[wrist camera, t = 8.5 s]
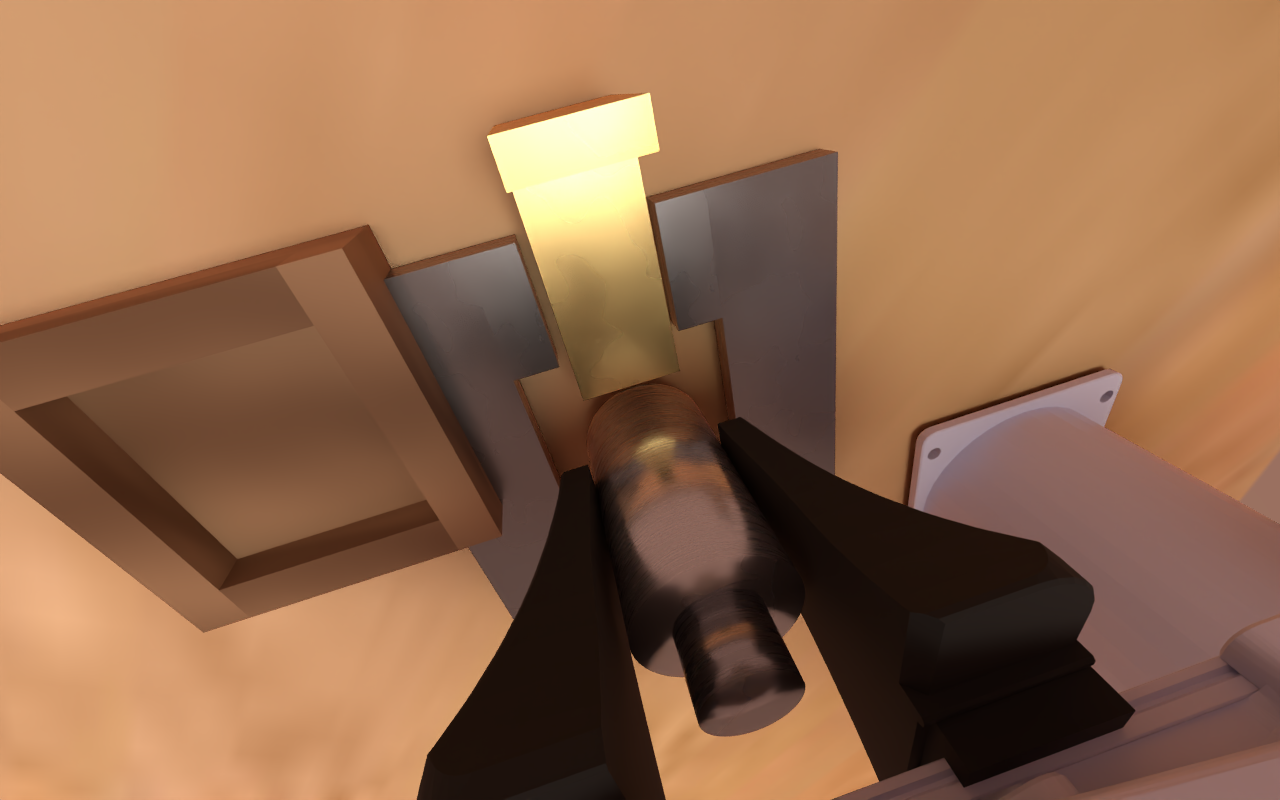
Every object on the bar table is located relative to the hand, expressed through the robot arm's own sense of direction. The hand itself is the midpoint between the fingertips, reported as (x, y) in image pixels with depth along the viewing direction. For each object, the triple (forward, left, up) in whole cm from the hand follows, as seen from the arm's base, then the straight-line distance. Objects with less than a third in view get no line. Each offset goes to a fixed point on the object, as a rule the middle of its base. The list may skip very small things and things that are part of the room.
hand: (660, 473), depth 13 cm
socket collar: (0, 0, -3) cm, 3 cm away
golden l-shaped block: (+5, 0, -2) cm, 6 cm away
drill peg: (0, 0, -2) cm, 2 cm away
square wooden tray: (+3, +9, -3) cm, 9 cm away
